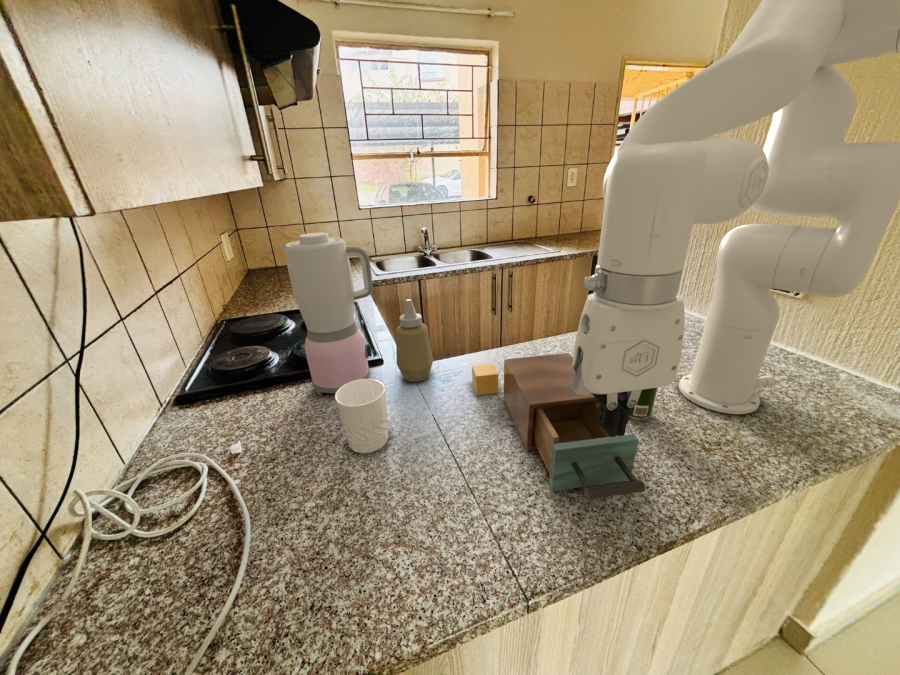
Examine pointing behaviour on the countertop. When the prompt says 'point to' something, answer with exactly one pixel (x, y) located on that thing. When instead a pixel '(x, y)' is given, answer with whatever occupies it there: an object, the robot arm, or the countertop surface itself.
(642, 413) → the beer can
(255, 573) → the countertop surface
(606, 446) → the open teal drawer
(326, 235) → the blender
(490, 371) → the mustard brown cube
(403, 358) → the squeeze bottle
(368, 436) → the white cup
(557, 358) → the wooden drawer cabinet
